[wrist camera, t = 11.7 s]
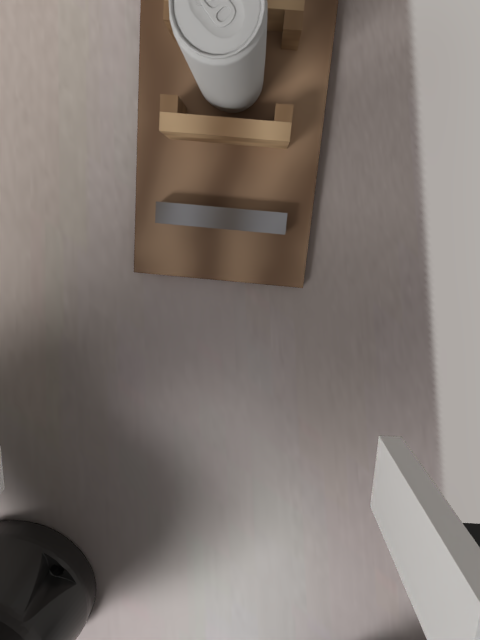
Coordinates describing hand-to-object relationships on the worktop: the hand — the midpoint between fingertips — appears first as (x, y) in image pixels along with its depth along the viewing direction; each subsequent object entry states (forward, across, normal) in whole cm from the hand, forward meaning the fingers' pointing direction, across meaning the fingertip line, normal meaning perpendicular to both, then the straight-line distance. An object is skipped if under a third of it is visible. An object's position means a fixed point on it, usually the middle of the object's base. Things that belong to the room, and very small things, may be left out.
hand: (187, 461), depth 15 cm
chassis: (+23, 0, +14) cm, 27 cm away
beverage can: (+22, 0, +18) cm, 28 cm away
